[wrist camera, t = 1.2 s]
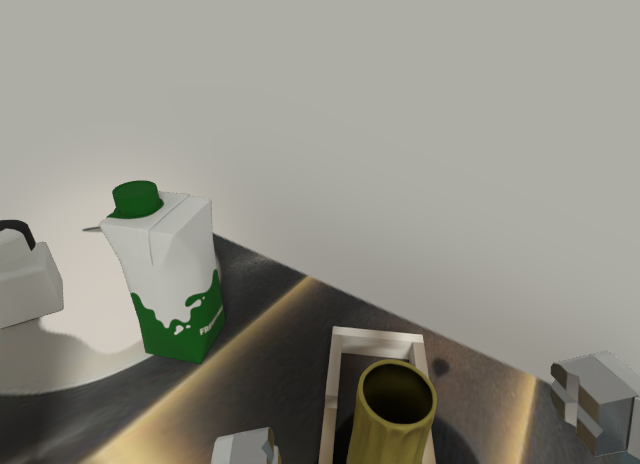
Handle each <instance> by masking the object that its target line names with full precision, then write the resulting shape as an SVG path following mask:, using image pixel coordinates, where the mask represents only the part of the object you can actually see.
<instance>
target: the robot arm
mask: <svg viewBox="0 0 640 464" xmlns="http://www.w3.org/2000/svg"><path fill="white" fill-rule="evenodd" d="M551 375H552V376H553V377H554V378H555V381H554V382H553V383H552V385H551V386H550V393H551V398H552V401H553V404H554V406H555V408H556V410H557V412H558V413H559V414H560V416H561V417H562V418H563V419H564V421H566V422H568V423H570V424H572V425H574V426H576V435H577V436H578V437H579V439H580V440H581V441H582V442H583V443H584V444H585V446H586V447H587V448H588V449H589V450H590V451H591V453H592V454H593V455H594V456H595V457H596V456H601V455H606V454H611V453H616V452H621V451H626V450H628V453H630V454H631V455H633V456H635V457H637V458H638V459H640V375H639V374H637V373H636V372H635V371H634V370H632V369H631V368H629V366H627V365H626V364H625V363H624V362H622V361H621V360H620V359H619V358H617V357H616V356H615V355H614V354H612V353H611V352H608V351H602V352H598V353H594V354H589V355H585V356H580V357H576V358H572V359H568V360H564V361H559V362H555V363H553V364H552V366H551ZM211 464H282V460H281V456H280V452H279V449H278V447H277V446H275V445H274V434H273V431H272V429H271V427H266V428H261V429H256V430H251V431H246V432H240V433H235V434H232V435H227V436H222V437H218V438H217V440H216V442H215V444H214V449H213V454H212V460H211Z"/></svg>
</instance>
